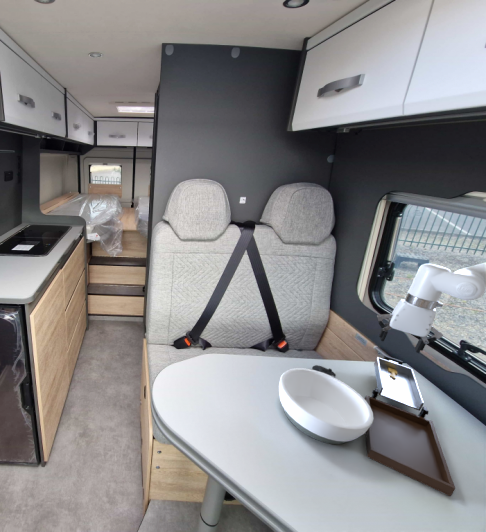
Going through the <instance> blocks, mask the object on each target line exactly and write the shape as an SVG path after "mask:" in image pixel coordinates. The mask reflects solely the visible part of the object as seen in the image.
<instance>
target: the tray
mask: <svg viewBox="0 0 486 532" xmlns="http://www.w3.org/2000/svg"><path fill="white" fill-rule="evenodd" d="M364 399H365V400H366V401H367V403H368V404H369V406H370V407H371V410H372V412H373V418H374V419H373V422H372V424H371V426H370V427H369V429H368V430H367V431H366V432H365V433H364V434H365V446H366V457H367V458H369V459H370V460H373V461H375V462H377V463H379V464H381V465H383V466H385V467H387V468H389V469H391V470H394V471H396V472H398V473H399V474H402V475H404V476H406V477H408V478H410V479H412V480H415V481H417V482H419V483H421V484H423V485H425V486H427V487H429V488H431V489H433V490H435V491H438V492H440V493H442V494H444V495H446V496H448V497H452V495H453V494H454V492H455V491H456V486H455V483H454V480H453V478H452V474H451V471H450V468H449V466H448V463H447V460H446V457H445V455H444V451H443V448H442V446H441V443H440V439H439V437H438V434H437V431H436V428H435V425H434V422H433V420H431V419H428V418H425V417H424V418H423V417H421V416H418V415H419V414H416V413H413V412H410V411H408V410H406V409H403V408H401V407H398V406H395V405H393V404H391V403H388V402H385V401H382V400H380V399H377V398H376V399H375V398H372V397H371V396H369V395H367V394H366V395H365V396H364Z"/></svg>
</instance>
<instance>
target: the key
mask: <svg viewBox="0 0 486 532" xmlns="http://www.w3.org/2000/svg"><path fill="white" fill-rule="evenodd" d="M388 372H390V373H391V374H390V377H392V378H393V379H395V380H396V376H395V374H396V375H397V374H398V373H397V370H395V369H392V368H389V367H388Z"/></svg>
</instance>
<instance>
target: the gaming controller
mask: <svg viewBox="0 0 486 532" xmlns="http://www.w3.org/2000/svg"><path fill="white" fill-rule="evenodd" d="M311 370H316V371H319V372H322V373H325V374H328V375H330V376H332V377H334V378H336V376H337V374H336V373H335V372H334V371H333V370H332V368H326V367H324V366H322V365H317V364H316V365H315V364H314V365H313V366H312V367H311Z"/></svg>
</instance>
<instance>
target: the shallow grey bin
mask: <svg viewBox="0 0 486 532" xmlns="http://www.w3.org/2000/svg"><path fill="white" fill-rule="evenodd" d="M403 363H404V361H403V360H400V359H397V358H394V357H391V356H389V355H384V356H383V358H381V357H379V356H376V358H375V360H374V363H373V366H374V373H375V374H374V375H375V380H376V386H377V387H376V388H377V389H378V391H379V393H378V396H380V397H383V398H385V399H387V400H390V401H393V402H395V403H397V404H401V405H403V406H406V407H408V408H411V409H414V410H416V411H418V412H420V411H421V409H422V408H423V406H424V404H425V402H424V399H423V396H422V393H421V390H420V387H419V384H418V381H417V378H416V376H415V375H416V374H415V372H414V370H413V369H414V368H411V367H408V366H405V365H403ZM388 367H389V368H392V369H395V370H397V373H398V374H397V375H396V374H395V376H396V380H395V379H393V378H392V377H390V374H391V373H390V372H388Z"/></svg>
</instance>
